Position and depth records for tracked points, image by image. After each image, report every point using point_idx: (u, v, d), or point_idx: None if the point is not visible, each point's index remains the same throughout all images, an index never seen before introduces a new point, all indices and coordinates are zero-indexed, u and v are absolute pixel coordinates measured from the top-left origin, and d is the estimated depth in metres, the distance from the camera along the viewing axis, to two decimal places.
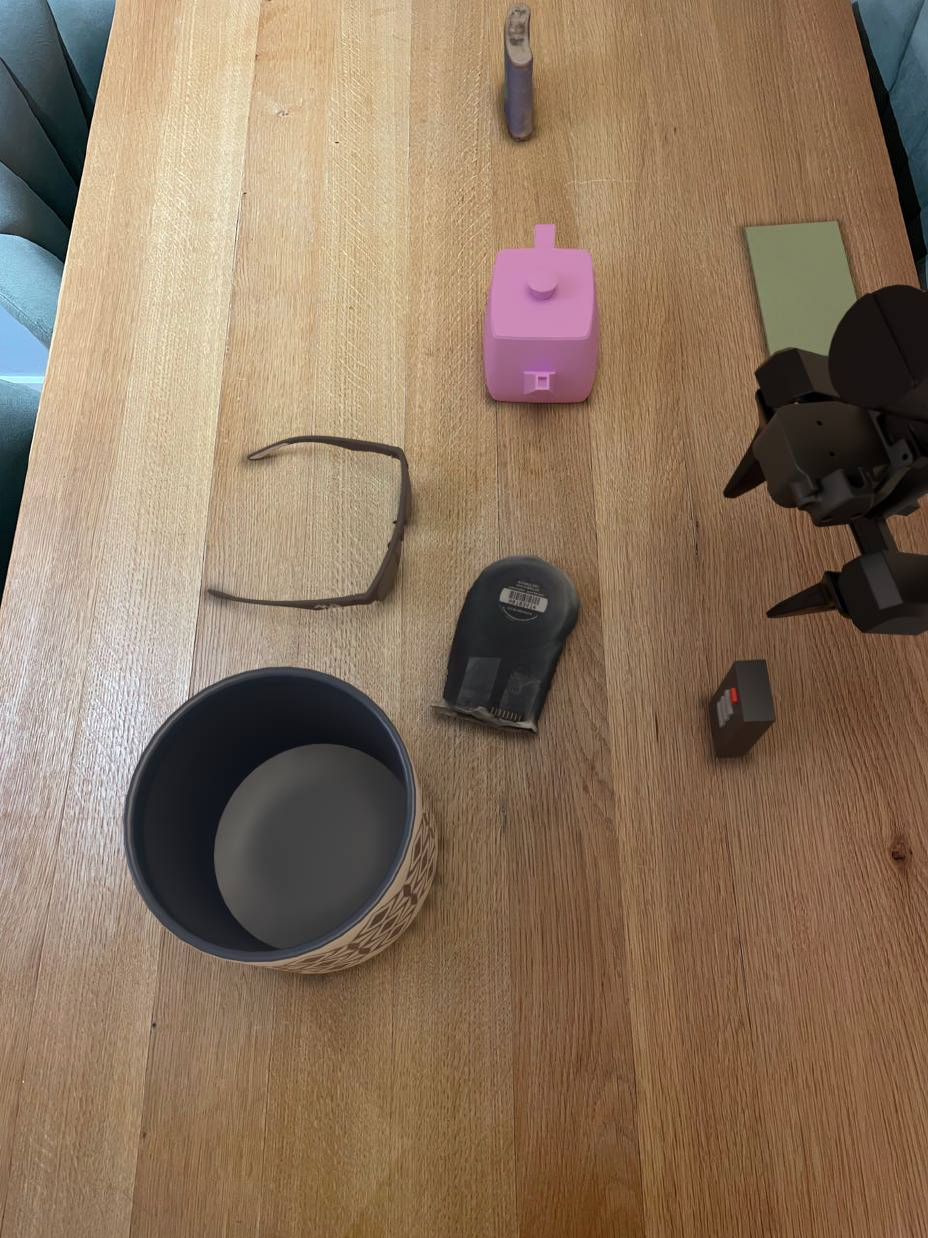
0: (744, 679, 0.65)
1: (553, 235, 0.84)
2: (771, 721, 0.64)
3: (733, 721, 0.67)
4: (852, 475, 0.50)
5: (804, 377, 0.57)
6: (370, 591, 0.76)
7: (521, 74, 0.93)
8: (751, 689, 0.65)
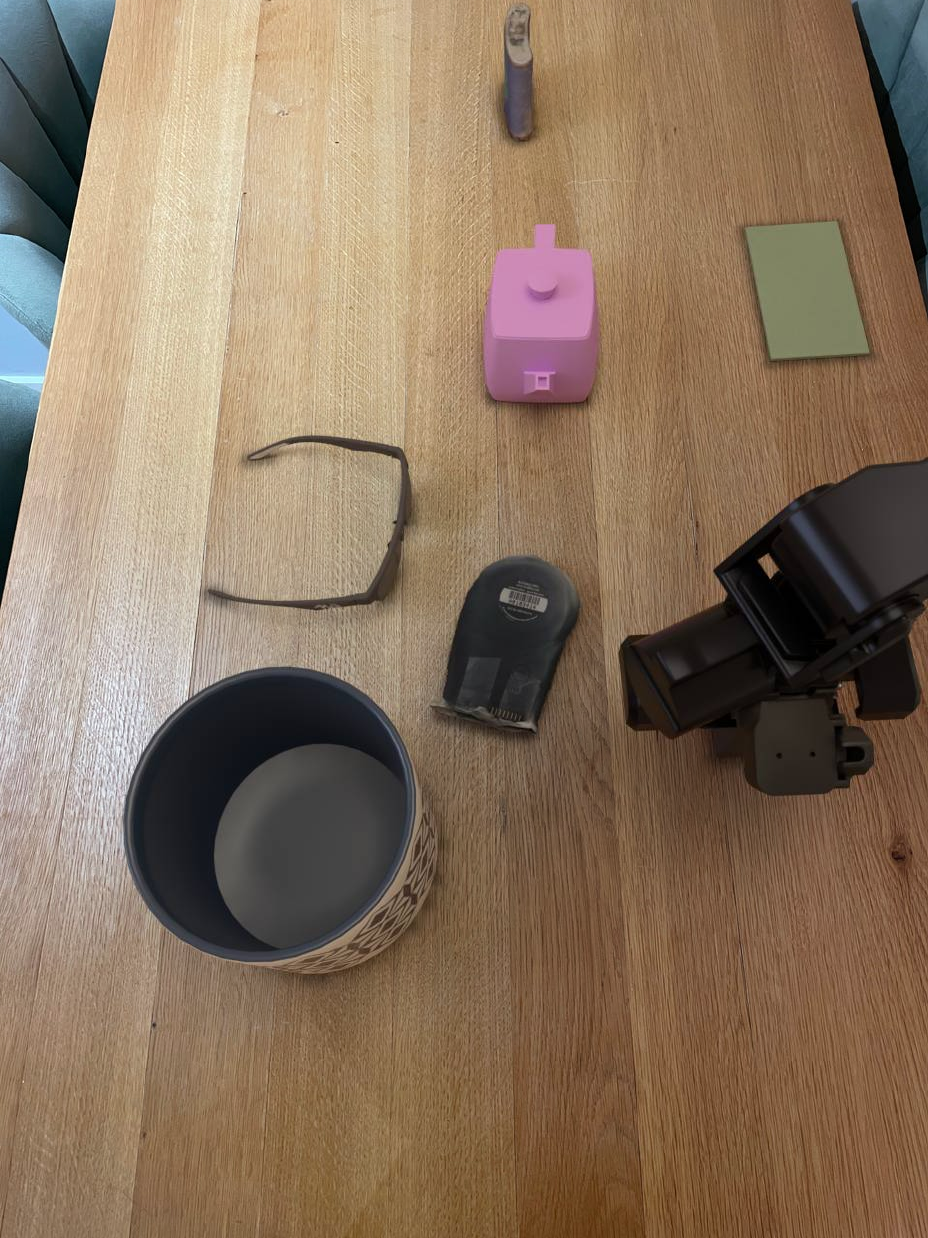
0: None
1: (553, 235, 0.84)
2: None
3: (736, 721, 0.67)
4: (840, 746, 0.56)
5: None
6: (370, 591, 0.76)
7: (521, 74, 0.93)
8: None
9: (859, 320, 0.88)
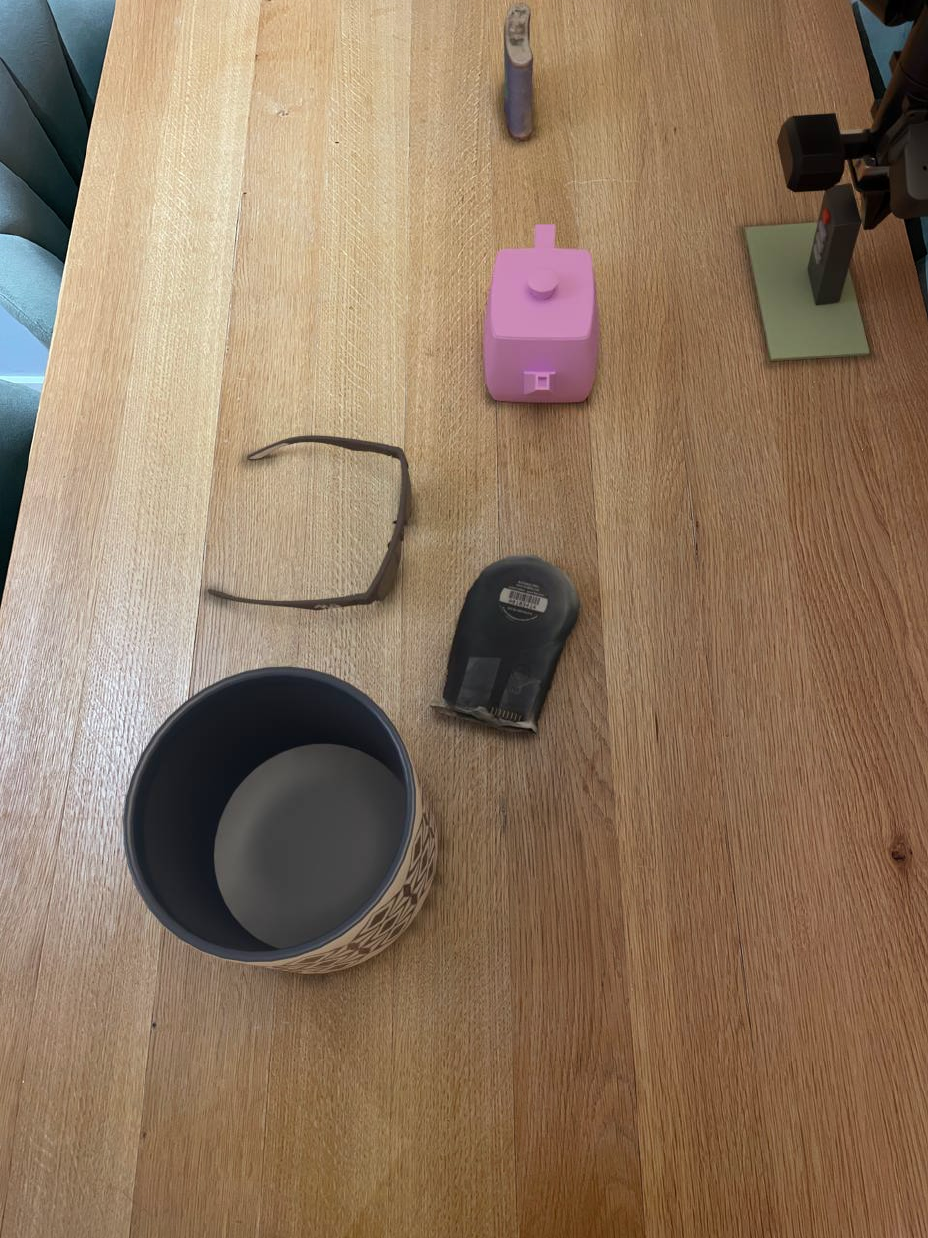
0: (834, 198, 0.81)
1: (553, 235, 0.84)
2: (858, 224, 0.80)
3: (827, 242, 0.83)
4: None
5: (830, 156, 0.73)
6: (370, 591, 0.76)
7: (521, 74, 0.93)
8: (840, 203, 0.81)
9: (859, 320, 0.88)
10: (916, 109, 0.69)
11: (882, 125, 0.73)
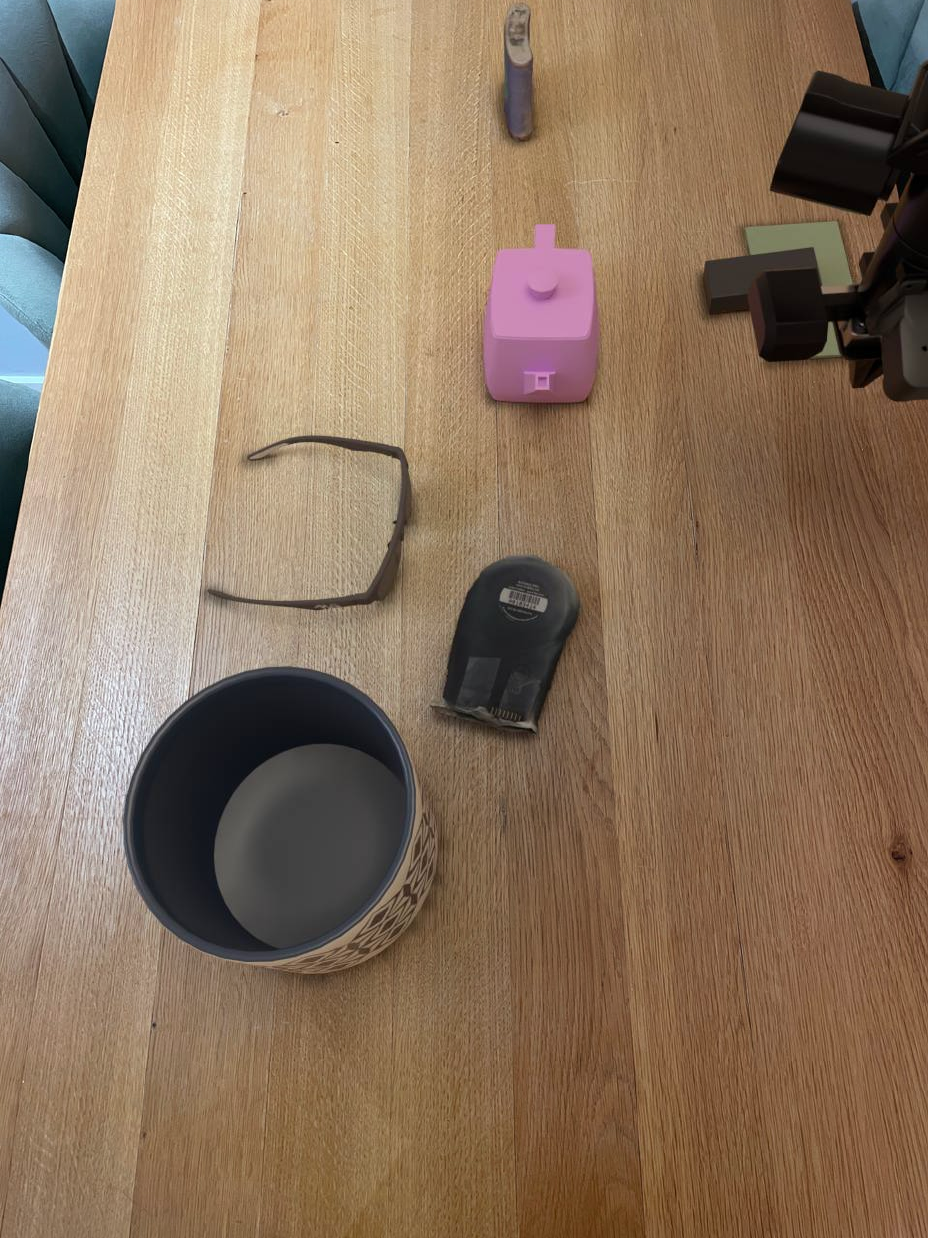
0: (705, 285, 0.90)
1: (553, 235, 0.84)
2: (713, 299, 0.88)
3: None
4: None
5: (810, 325, 0.61)
6: (370, 591, 0.76)
7: (521, 74, 0.93)
8: (706, 288, 0.90)
9: None
10: (914, 280, 0.56)
11: (872, 288, 0.60)
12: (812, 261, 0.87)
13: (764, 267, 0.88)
